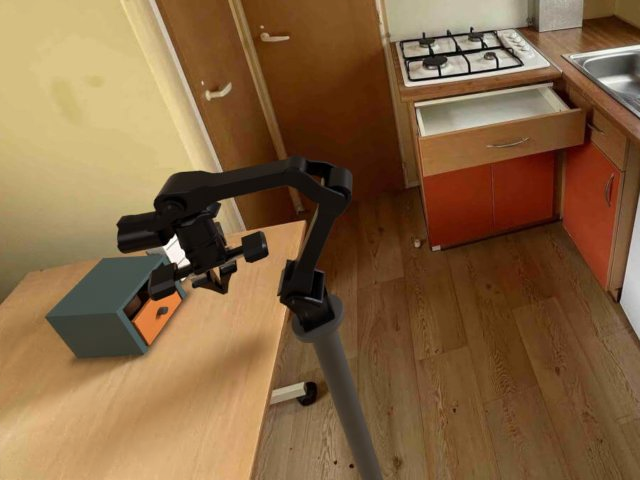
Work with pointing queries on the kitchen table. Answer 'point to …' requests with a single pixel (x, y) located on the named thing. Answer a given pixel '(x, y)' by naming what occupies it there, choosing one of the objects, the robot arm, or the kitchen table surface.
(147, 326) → the drawer
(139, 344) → the cubby
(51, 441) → the kitchen table surface
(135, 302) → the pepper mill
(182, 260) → the syrup box
